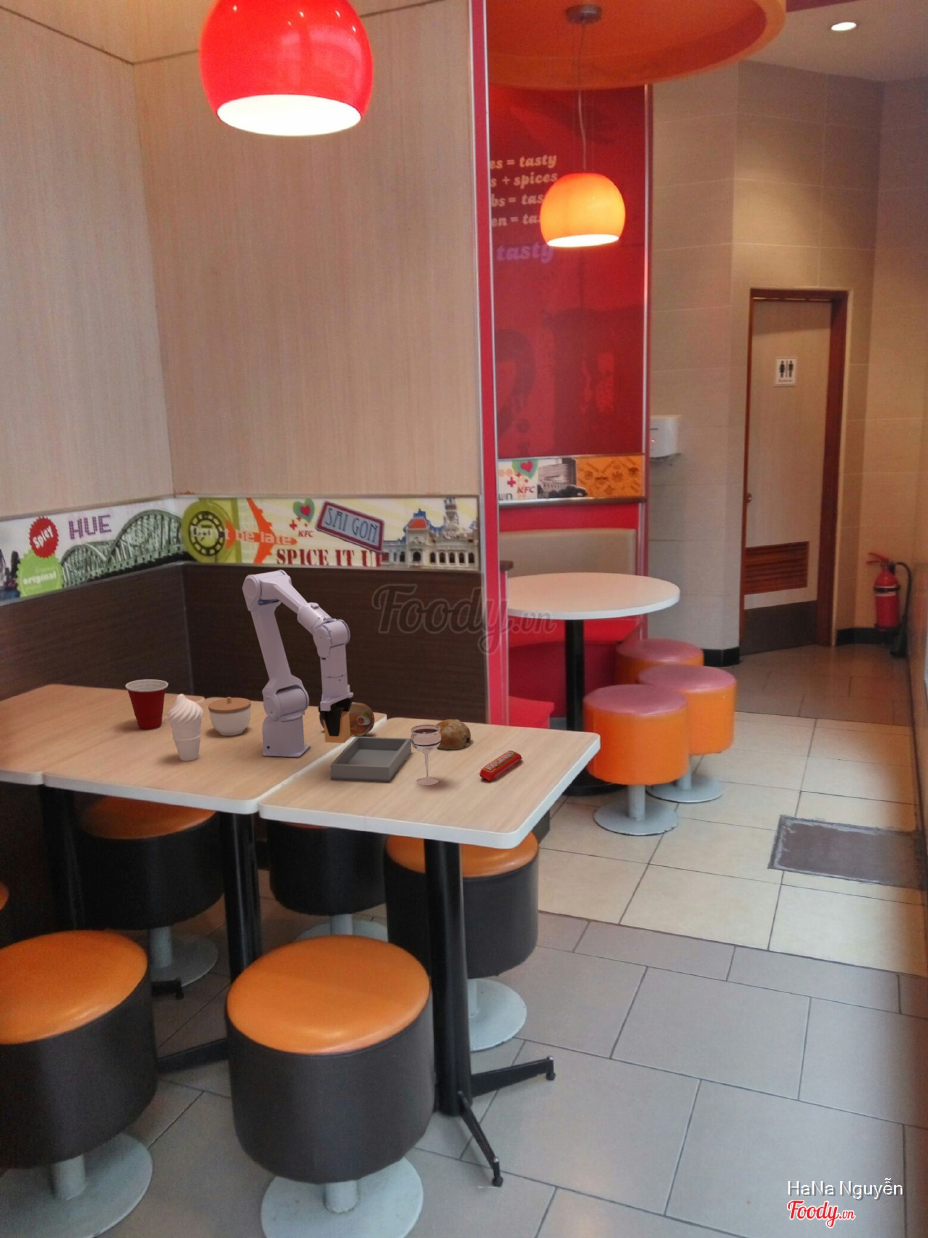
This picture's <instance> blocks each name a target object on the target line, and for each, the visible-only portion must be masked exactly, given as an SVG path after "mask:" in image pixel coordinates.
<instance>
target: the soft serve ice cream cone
mask: <svg viewBox="0 0 928 1238" xmlns="http://www.w3.org/2000/svg"><path fill="white" fill-rule="evenodd" d="M203 714H204V710H203V708H202V706H200V705H199V704H198V703H197V702H195V701H193V700H191V699H188V698H187V697H186V696H185V694H184V693H180V694H178V695H177V696H176V698H175V701H174V703H173V705H172V707H171V708H170V709H169V710H168V713H167V714H166V716H167V721H168V722H169V725H170V728H171V733H172V740H173V741H174V743H175V747H176V751H177V754H178V757H179V760H181V761H184V762H189V761H194V760H197V759H198V758H199V755H200V754H199V753H200V747H201V745H200V744H201V738H202V733H201V732H202V725H201V724H202V722H203V721H202V718H203Z"/></svg>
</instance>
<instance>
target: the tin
mask: <svg viewBox="0 0 928 1238" xmlns="http://www.w3.org/2000/svg"><path fill="white" fill-rule="evenodd" d="M318 716H319V718H318V719H319V722H320V726H321V727H322V729H324V719H323V717H322V715H321V714H320V713H319V715H318ZM375 719H376V718H375V715H374V712H373V710H372V708H371V707H370V706H369V705H367V704H365V703H362V702H354V701H353V702H352V704H351V707H350V710H349V720H350V735H354V736H353V737H358V736H359V737H364V736H365V735H367V734H369V732H371V731H372V730H373V728H374V726H375V723H376V722H375Z"/></svg>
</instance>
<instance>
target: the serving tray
mask: <svg viewBox="0 0 928 1238" xmlns="http://www.w3.org/2000/svg"><path fill="white" fill-rule="evenodd" d="M354 737H355V738H354V739H352V741H351V742H350V743H349V744H348V745H347V746H346V747H345V748H344V749H343V750H342V751H341V752H340V753H339V755H338V756H337V757H336V758H334V760H333V761H332V762H331V763H330V765H329V769H330V780H331V781H352V782H373V783H374V782H376V783H391V781H392V780H393V778H394V777H395V775H396V774H397V773H398V771H399V770H400V769H401V767H403V765H404V764H405V762H406V761H407V759H408V758H409V756H410V755H411V754H412V743H411V739H410V738H411V737H410V738H409V737H408V738H407V737H406V738H405V737H383V736H382V737H381V736H380V737H378V736H359V737H358V736H354Z"/></svg>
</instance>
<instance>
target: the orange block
mask: <svg viewBox="0 0 928 1238" xmlns="http://www.w3.org/2000/svg"><path fill="white" fill-rule="evenodd" d="M323 729H324V741H325V742H324V743H330V744H331V743H333V744H334V743H336V744H345V743H346V742H347V741H348V740H349V739H350V738H351V737H352V736H350V720H349V712H345V711H343V712H342V715H341V720H340V732H339V736H329V733H328V730H327V727H326V724H325V721H324V728H323Z"/></svg>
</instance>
